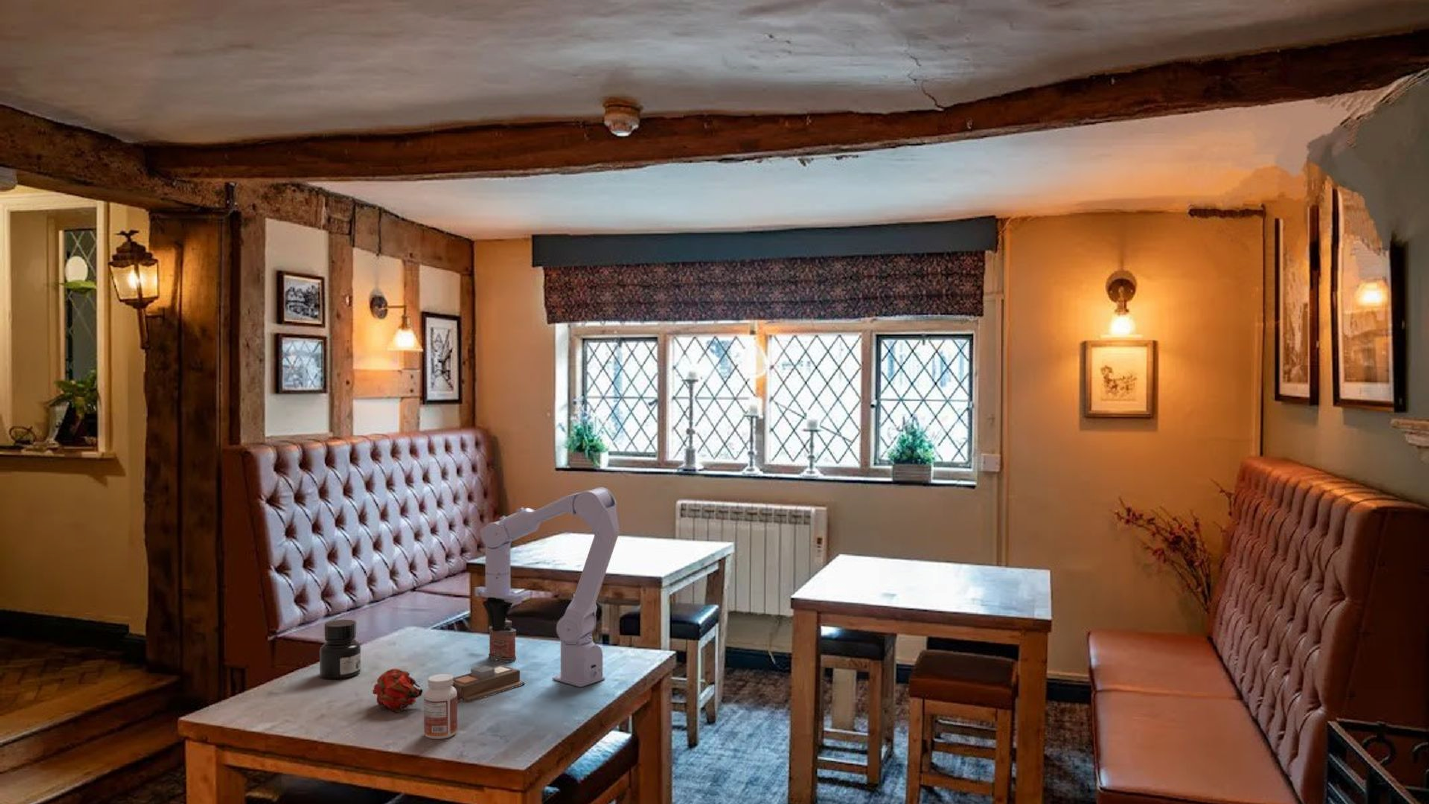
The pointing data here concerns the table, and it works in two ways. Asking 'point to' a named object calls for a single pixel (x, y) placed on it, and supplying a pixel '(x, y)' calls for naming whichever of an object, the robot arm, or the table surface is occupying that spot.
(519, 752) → the table surface
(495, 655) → the lighter
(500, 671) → the key cream
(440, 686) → the pill bottle
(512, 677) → the keypad board
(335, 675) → the ink bottle
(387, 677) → the dragon fruit
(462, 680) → the key terracotta
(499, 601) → the robot arm
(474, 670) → the key slate
